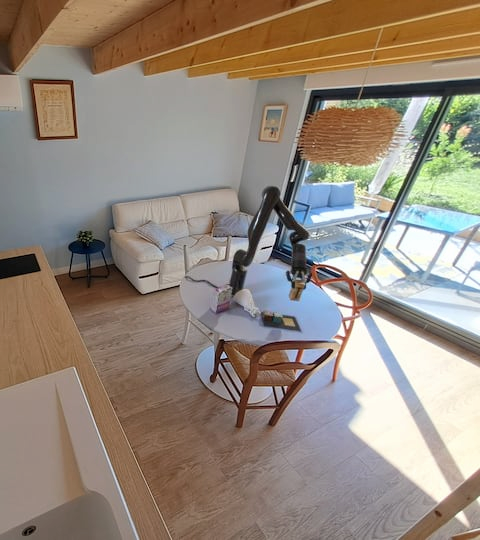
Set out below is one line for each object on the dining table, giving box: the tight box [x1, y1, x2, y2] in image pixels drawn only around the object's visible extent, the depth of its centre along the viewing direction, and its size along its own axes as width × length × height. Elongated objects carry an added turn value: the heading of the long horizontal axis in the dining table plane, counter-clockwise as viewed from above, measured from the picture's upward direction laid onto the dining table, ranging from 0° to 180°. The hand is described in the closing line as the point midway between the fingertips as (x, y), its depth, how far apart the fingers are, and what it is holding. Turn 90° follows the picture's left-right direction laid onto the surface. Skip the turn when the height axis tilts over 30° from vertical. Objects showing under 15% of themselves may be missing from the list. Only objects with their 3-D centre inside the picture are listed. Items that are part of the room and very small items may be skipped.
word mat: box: [260, 311, 302, 332], centre depth 173 cm, size 20×14×1 cm
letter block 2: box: [272, 311, 283, 323], centre depth 173 cm, size 4×4×5 cm
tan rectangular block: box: [288, 278, 305, 302], centre depth 168 cm, size 5×5×12 cm
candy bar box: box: [210, 284, 233, 314], centre depth 181 cm, size 11×5×16 cm, turn 117°
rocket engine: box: [232, 288, 262, 318], centre depth 183 cm, size 12×12×18 cm
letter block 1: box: [261, 310, 273, 322], centre depth 174 cm, size 4×4×5 cm
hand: (298, 288), depth 165 cm, fingers closed on tan rectangular block, 4 cm apart
